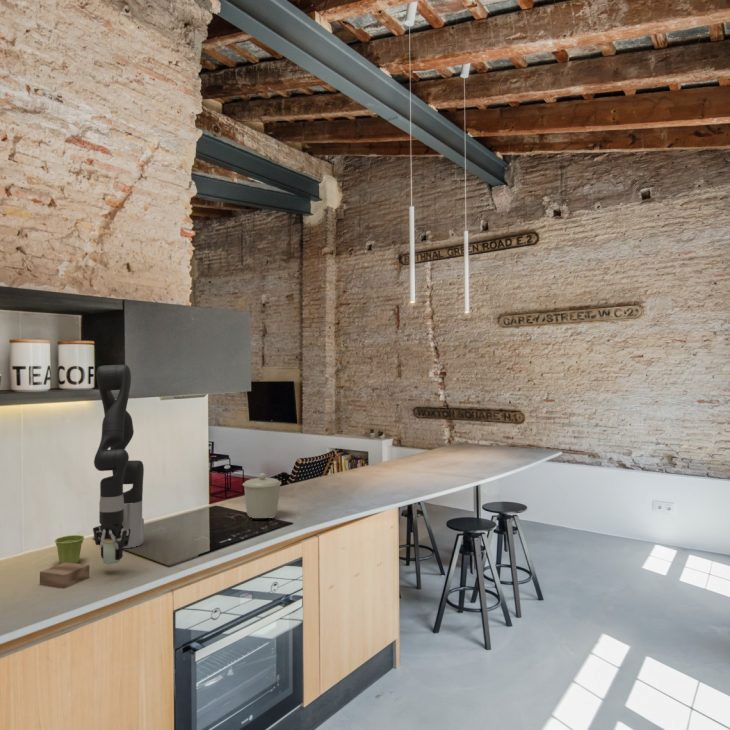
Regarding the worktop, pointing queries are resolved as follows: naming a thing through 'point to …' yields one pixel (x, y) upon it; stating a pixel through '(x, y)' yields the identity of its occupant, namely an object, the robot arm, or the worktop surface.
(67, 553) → the plant pot
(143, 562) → the worktop surface
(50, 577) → the plinth
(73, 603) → the worktop surface
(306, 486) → the worktop surface
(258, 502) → the canister
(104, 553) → the jar
